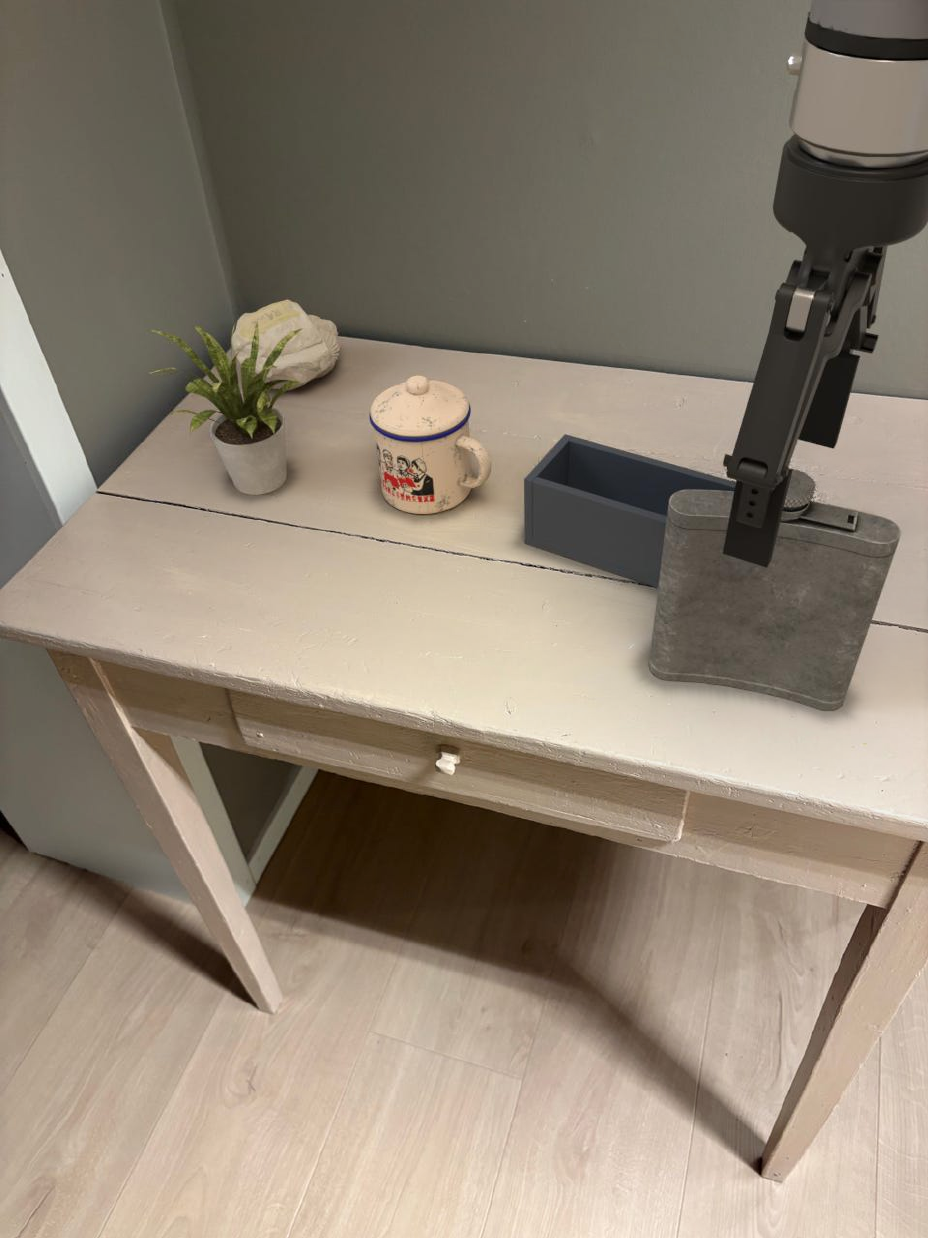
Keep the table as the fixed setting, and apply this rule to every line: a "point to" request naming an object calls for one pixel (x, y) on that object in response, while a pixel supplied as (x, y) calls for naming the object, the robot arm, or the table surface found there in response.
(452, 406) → the teacup with lid
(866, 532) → the flask
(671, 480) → the holder
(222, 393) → the house plant
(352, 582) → the table surface
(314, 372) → the fossil replica
